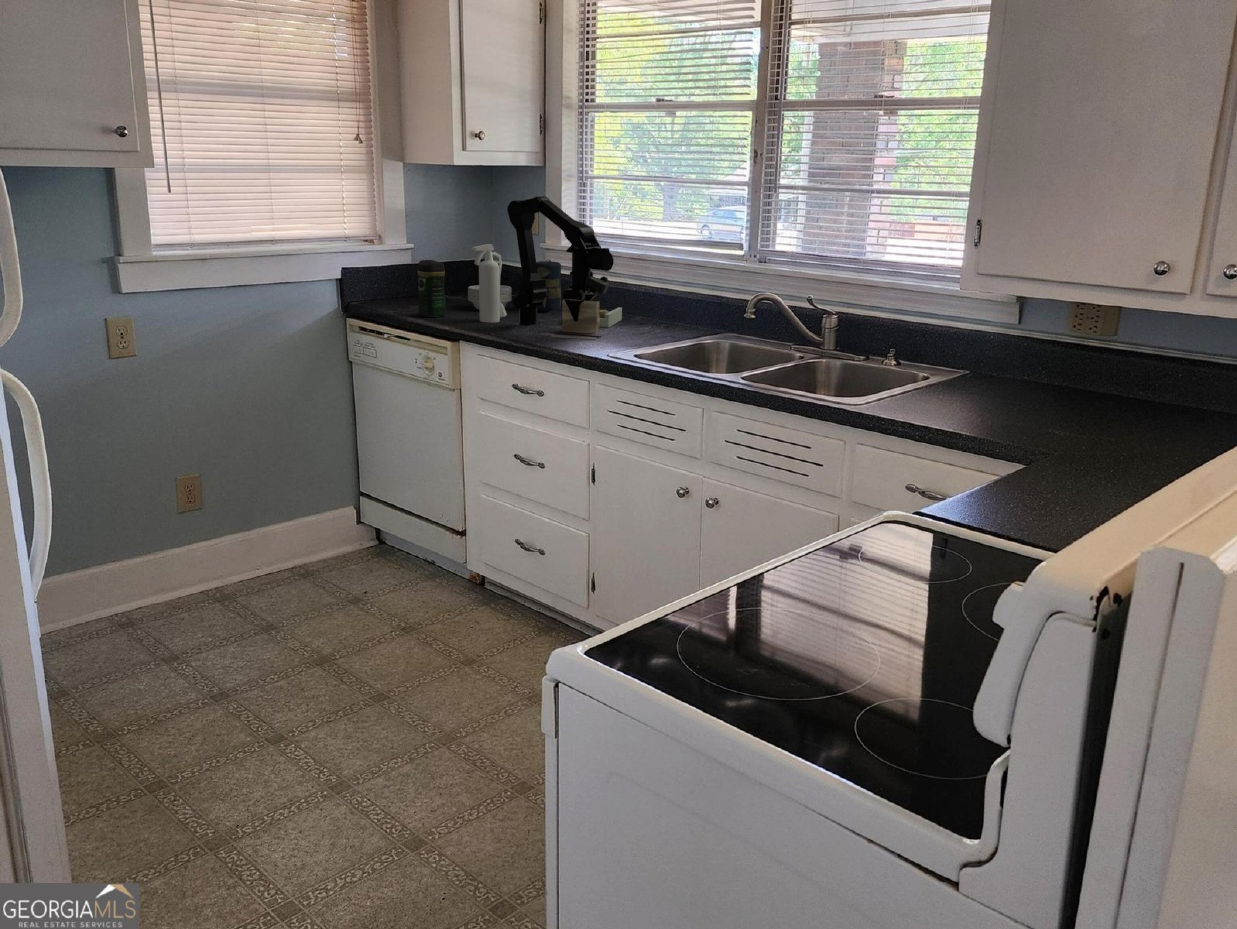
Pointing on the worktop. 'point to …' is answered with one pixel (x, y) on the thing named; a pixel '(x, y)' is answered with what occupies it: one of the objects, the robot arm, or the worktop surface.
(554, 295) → the canister
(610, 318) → the rack
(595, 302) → the tan wooden block
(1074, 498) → the worktop surface
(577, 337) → the grey mat
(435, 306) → the coffee jar
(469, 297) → the paper bowls
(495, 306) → the fire extinguisher
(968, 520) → the worktop surface
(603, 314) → the offcut stack
